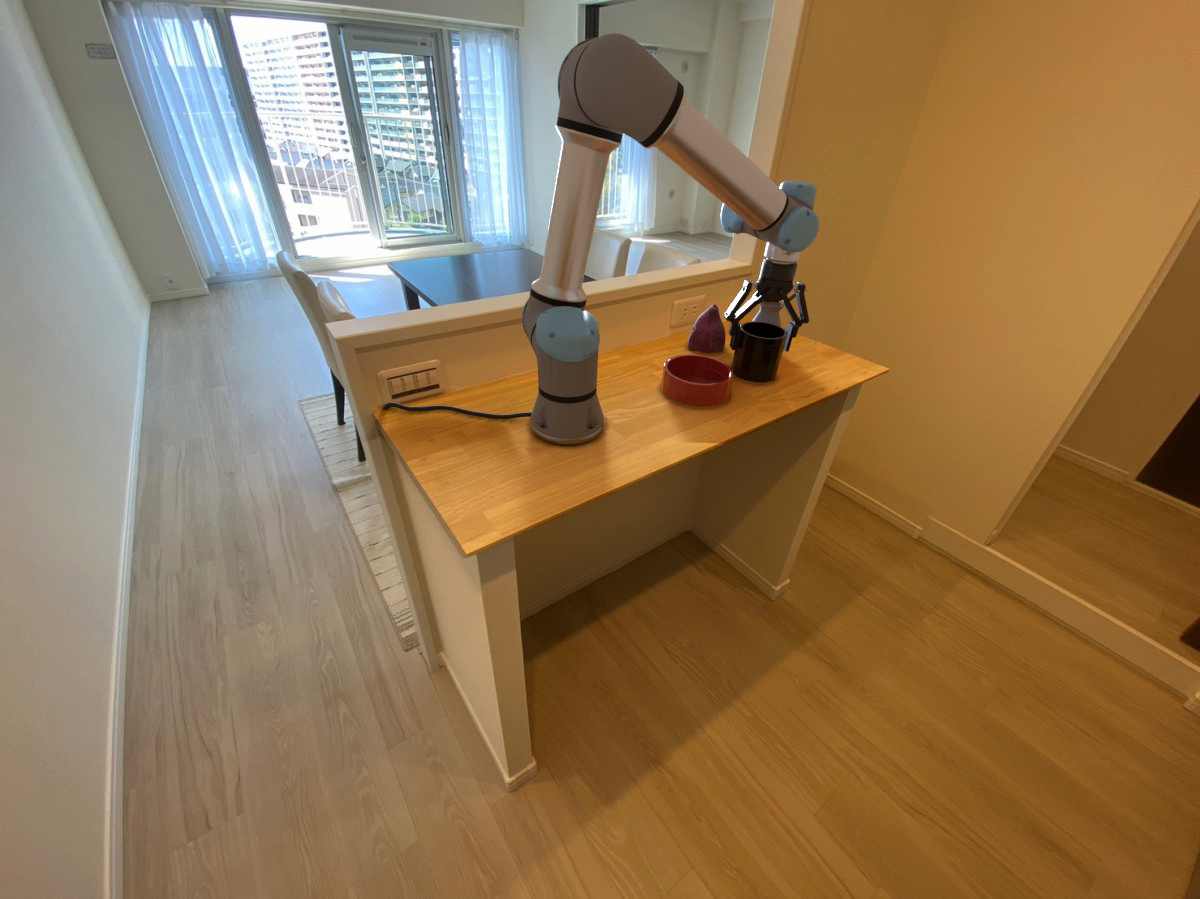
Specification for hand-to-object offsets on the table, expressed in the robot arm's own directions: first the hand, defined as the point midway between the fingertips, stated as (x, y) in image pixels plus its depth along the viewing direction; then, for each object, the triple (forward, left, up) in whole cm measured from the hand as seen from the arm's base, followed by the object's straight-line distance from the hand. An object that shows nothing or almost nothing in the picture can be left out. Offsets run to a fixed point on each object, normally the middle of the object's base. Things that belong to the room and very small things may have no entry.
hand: (758, 348), depth 122 cm
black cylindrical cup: (0, 0, -7) cm, 7 cm away
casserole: (-17, -10, -7) cm, 21 cm away
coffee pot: (+11, +20, -7) cm, 24 cm away
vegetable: (-9, +16, -7) cm, 20 cm away
